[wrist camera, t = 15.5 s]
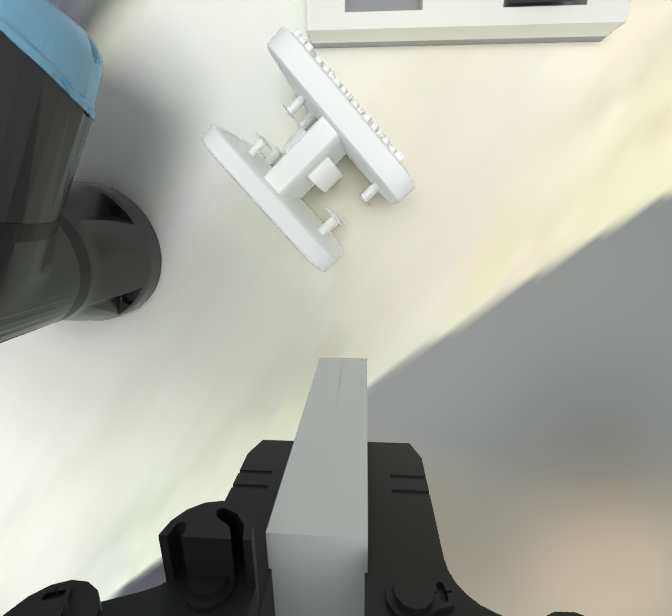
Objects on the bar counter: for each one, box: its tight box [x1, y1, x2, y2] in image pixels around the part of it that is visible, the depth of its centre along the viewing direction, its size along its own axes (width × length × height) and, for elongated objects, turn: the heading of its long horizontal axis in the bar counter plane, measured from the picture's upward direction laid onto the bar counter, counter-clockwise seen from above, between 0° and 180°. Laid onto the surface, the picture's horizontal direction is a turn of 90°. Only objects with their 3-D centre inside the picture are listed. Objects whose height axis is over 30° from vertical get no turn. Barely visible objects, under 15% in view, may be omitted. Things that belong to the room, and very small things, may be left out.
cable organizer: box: [202, 27, 415, 271], centre depth 32 cm, size 15×11×12 cm
